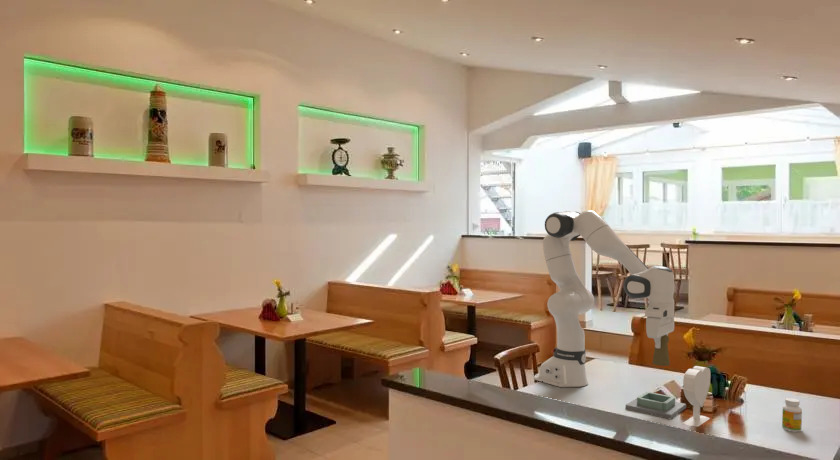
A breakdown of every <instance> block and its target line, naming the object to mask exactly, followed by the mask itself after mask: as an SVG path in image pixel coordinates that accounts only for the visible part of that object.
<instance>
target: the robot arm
mask: <svg viewBox="0 0 840 460" xmlns="http://www.w3.org/2000/svg"><path fill="white" fill-rule="evenodd" d="M544 230H545V231H546V233H547V235H545V236H544V237H543V239H542V249H543V255H544V260H545V263H546V267H547V271H548V274H549V277H550V279H551V281H552V282H553V283H555V284H556V286H557V287H558V289H559V290H560V291H556V292H554V294H551V295H550V296H549V298H548V299H547V303H546V305H547V310H548V311H549V314H551V316H553V319H554V322H555V326H556V332H557V333H556V334H557V342H556V343H557V346H556V347H555V348H553V349H552V350H551V354H552V353H553V354H552V355H553V356H551V357H550V358H548V359H546V360H545V361H544V362H542V363H541V365H540V367H539V370H538V371H539V372H538V373H536V374H534V376H533V380H535V381H539V382H541V383H545V384H549V385H552V386H556V387H559V388H567V387H570V388H571V387H572V388H577V387H579V388H580V387H585V386H587V385H588V384H589V380H588V377H587V372H586V358H587V357H586V349H585V347H586V346H585V338H586V337H585V336H586V334H585V333H586V332H585V329H584V328H583V327H582V326H581V323H580V319H579V315H584V314H586V313H588V312H589V311H591V310H592V308H594V306H595V301H596V300H595V296H594V295H593V293H592V291H590V290H589V289H588V288H587V287H586V285H585V284H584V283H583V281H582V279H581V277H580V276H579V273H578V271H577V268H576V266H575V262H574V258H573V255H572V252H571V248H570V242H571V241H575V240H577V239H578V238H579V237H582V238H583V240H584V241H585V242H586V244H587V245H588V246H589V248H590V249H591V250H593V251H594V252H595V253H596V254H597V255H598V256H603V257H605V258H606V257H607V258H609V259H613V260H616V261H617V262H619V263H621V264H622V266H623V267H624V268H625V269H626V270H627V271H628V272H629V274H630V275H628V276H627V277H626V278H625V279H624V281H623V291H624V293H625V294H626V296H627V297H629V298H631V299H635V300H640V299H648V305H647V306H648V307H647V308H646V309H645V311H644V316H645V317H646V320H645V331H646V336H647V338H649V339H653V340H654V349H655V348H661V341H660V339H661V337H662V336H664V335H667V336H668V337H669V334H670V333H672V332H674V331H675V299H674V294H675V275H674V271H673V270H672V269H671V268H669V267H666V266H662V265H652V266H650V267H648V266H647V265H646V264H645V263H644V262H643V261H642V260H641V259H640V258H639V257H638V256H637V255H636V254H635V253H634V251H632V249H631V248H630V247H628V246H627V245H626V244H625V243H624V241H623V240H622V239H621V238H620V237H619V236H618V235H617V234H616V232H615V231H614V230H613V228H611V226H610V225H609V224H608V222H607V221H605V220H604V218H602V217H601V216H600V215H599V214H598V213H597V212H595V210H591V209H590V210H589V209H588V210H583V211H582V212H581V213H580V212H578V211H569V210H568V211H567V210H565V211H560V212H559V211H556V212H553V213H550V214H549V215H548V216H547V217H546V219H545V221H544ZM542 381H543V382H542Z"/></svg>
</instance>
